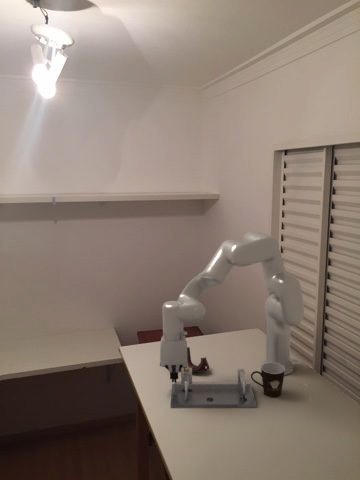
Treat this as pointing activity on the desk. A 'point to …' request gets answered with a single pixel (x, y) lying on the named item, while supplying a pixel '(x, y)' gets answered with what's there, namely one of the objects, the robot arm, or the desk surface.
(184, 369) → the sliding leg
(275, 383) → the coffee mug
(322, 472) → the desk surface
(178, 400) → the bolt plate and beam
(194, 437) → the desk surface
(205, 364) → the bracket
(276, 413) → the desk surface
